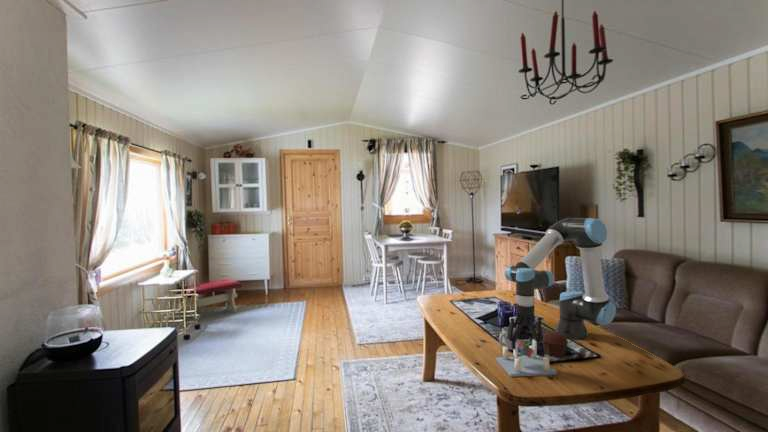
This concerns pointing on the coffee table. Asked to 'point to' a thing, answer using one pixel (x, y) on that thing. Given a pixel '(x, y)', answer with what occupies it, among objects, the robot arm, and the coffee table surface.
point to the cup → (505, 338)
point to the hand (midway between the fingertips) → (524, 355)
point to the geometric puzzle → (524, 348)
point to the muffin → (554, 344)
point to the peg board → (525, 365)
